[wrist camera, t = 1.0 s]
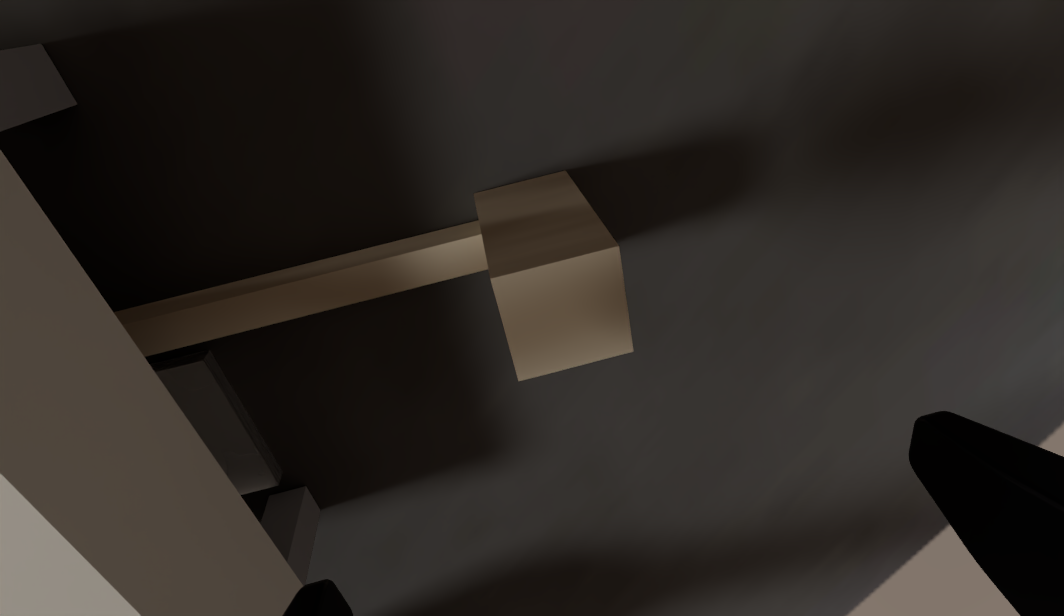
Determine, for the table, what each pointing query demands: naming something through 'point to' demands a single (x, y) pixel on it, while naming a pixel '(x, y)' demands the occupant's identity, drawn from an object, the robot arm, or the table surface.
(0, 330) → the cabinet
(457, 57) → the table surface
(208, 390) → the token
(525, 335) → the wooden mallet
